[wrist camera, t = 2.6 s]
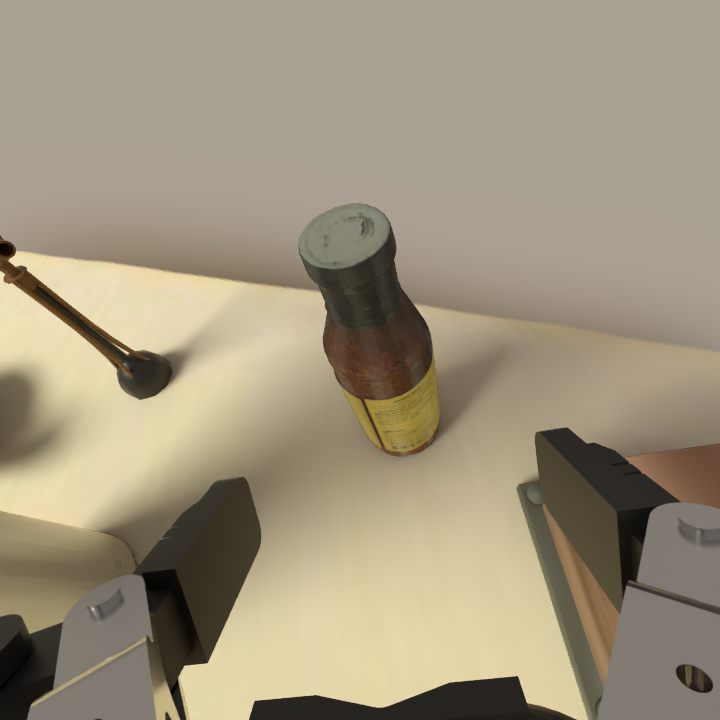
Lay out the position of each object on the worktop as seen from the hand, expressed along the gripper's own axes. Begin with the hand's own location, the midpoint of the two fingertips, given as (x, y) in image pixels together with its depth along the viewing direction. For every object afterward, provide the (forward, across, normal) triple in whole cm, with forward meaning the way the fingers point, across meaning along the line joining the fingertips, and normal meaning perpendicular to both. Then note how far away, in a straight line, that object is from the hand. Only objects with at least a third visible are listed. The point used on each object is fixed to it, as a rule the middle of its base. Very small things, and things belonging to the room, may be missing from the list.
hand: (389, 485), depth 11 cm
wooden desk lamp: (+27, +24, 0) cm, 36 cm away
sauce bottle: (+21, 0, +7) cm, 22 cm away
